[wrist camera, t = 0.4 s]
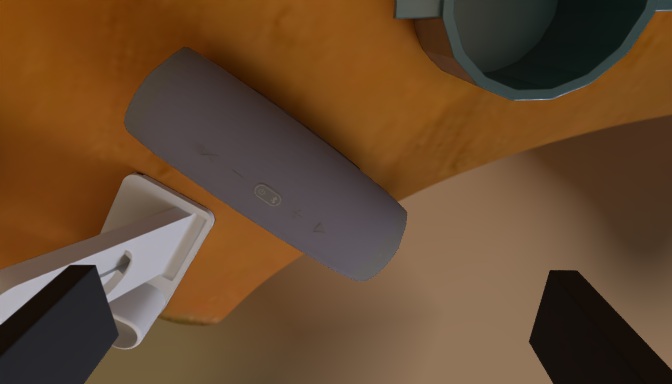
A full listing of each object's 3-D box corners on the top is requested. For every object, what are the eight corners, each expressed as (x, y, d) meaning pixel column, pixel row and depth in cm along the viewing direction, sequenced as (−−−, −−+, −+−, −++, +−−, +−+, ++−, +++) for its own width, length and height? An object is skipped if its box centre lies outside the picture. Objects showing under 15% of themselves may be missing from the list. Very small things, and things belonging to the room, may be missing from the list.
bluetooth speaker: (163, 120, 35) (99, 153, 26) (210, 38, 32) (157, 42, 23) (346, 245, 41) (346, 308, 31) (402, 185, 37) (421, 236, 28)
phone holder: (159, 316, 46) (54, 479, 29) (79, 280, 43) (-82, 432, 27) (218, 214, 39) (128, 348, 23) (129, 166, 37) (-41, 274, 21)
